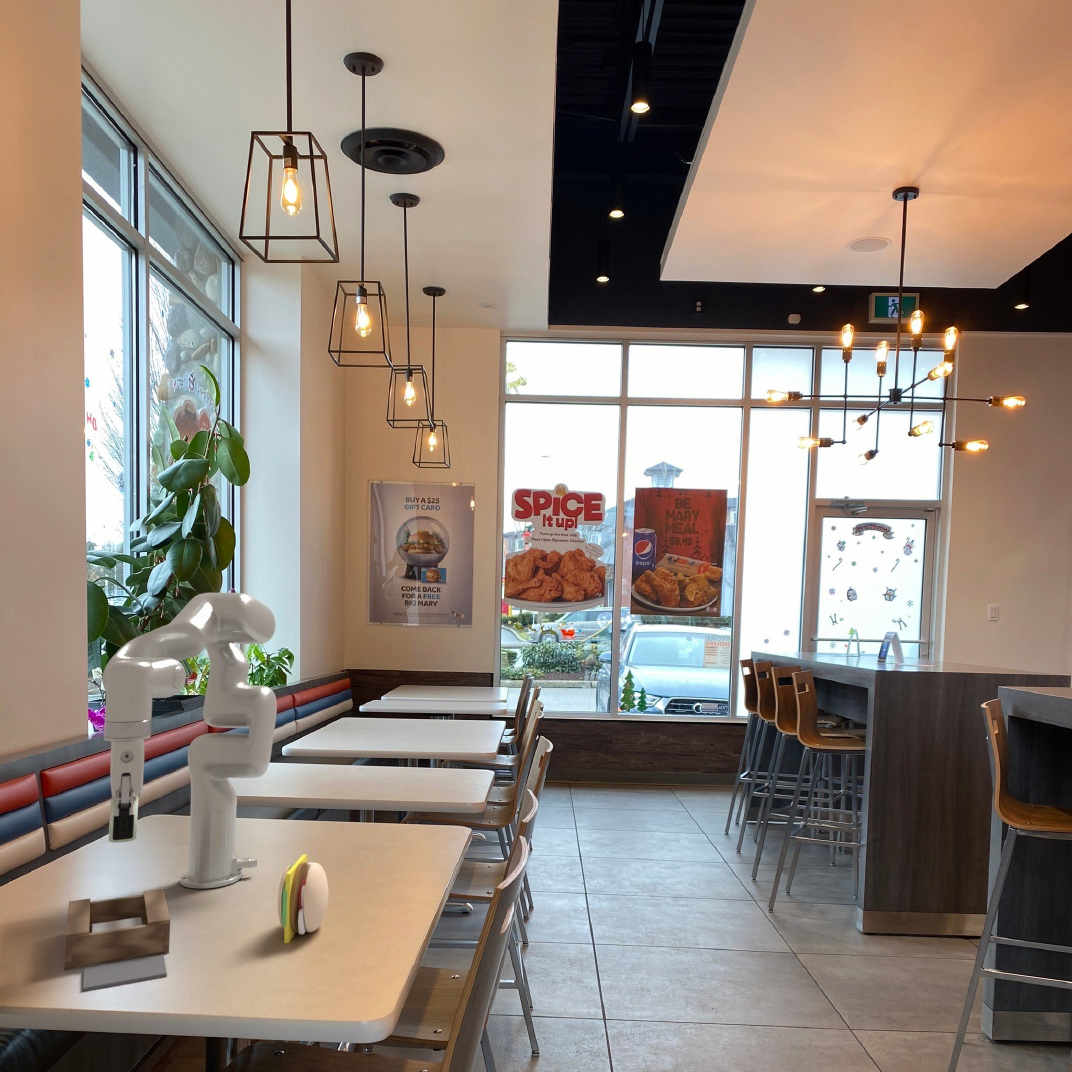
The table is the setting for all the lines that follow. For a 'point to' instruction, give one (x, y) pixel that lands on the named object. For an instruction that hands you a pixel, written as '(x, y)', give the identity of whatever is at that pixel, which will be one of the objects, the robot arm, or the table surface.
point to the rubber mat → (124, 972)
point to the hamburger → (302, 898)
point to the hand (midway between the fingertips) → (122, 834)
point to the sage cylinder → (112, 814)
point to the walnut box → (116, 929)
